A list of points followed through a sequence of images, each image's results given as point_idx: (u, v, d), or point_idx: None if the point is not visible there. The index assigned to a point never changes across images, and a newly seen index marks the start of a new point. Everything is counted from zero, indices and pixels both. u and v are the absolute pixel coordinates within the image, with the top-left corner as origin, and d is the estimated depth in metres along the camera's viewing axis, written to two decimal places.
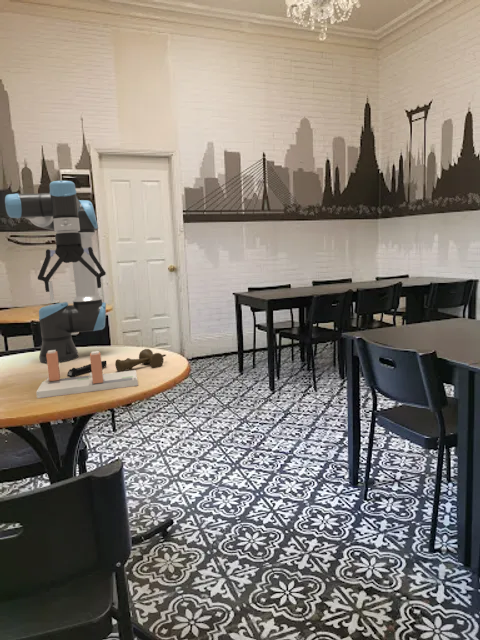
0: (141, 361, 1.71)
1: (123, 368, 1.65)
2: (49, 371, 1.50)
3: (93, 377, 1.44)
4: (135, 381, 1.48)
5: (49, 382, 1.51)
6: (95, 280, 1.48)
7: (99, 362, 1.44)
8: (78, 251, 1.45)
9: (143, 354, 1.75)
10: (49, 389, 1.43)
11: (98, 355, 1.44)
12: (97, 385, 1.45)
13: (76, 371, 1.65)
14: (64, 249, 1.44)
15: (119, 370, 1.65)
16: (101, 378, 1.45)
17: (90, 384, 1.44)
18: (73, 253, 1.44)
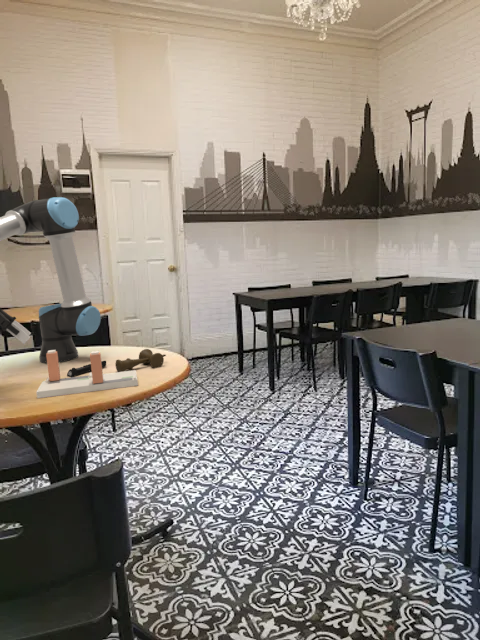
0: (141, 361, 1.71)
1: (123, 368, 1.65)
2: (49, 371, 1.50)
3: (93, 377, 1.44)
4: (135, 381, 1.48)
5: (49, 382, 1.51)
6: None
7: (99, 362, 1.44)
8: None
9: (143, 354, 1.75)
10: (49, 389, 1.43)
11: (98, 355, 1.44)
12: (97, 385, 1.45)
13: (76, 371, 1.65)
14: None
15: (119, 370, 1.65)
16: (101, 378, 1.45)
17: (90, 384, 1.44)
18: None
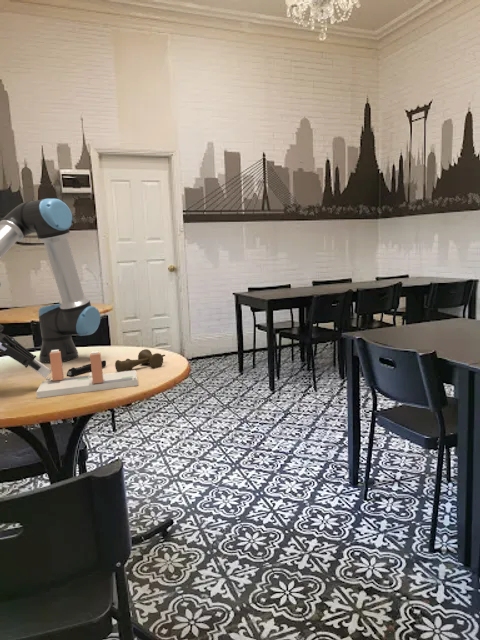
0: (141, 361, 1.70)
1: (123, 369, 1.65)
2: (52, 371, 1.51)
3: (93, 377, 1.44)
4: (135, 381, 1.48)
5: (49, 382, 1.51)
6: None
7: (99, 362, 1.44)
8: None
9: (142, 354, 1.74)
10: (49, 389, 1.43)
11: (98, 355, 1.44)
12: (97, 385, 1.45)
13: (75, 371, 1.66)
14: None
15: (119, 371, 1.64)
16: (101, 378, 1.45)
17: (90, 384, 1.44)
18: None
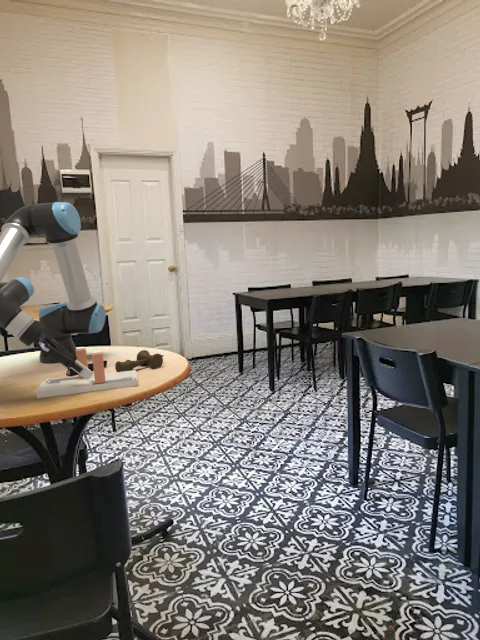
0: (141, 362, 1.69)
1: (124, 370, 1.63)
2: None
3: (95, 377, 1.45)
4: (135, 381, 1.48)
5: (49, 382, 1.51)
6: None
7: (101, 362, 1.44)
8: None
9: (141, 355, 1.73)
10: (49, 389, 1.43)
11: (100, 355, 1.44)
12: (97, 385, 1.45)
13: None
14: None
15: None
16: (103, 378, 1.45)
17: (90, 384, 1.44)
18: None
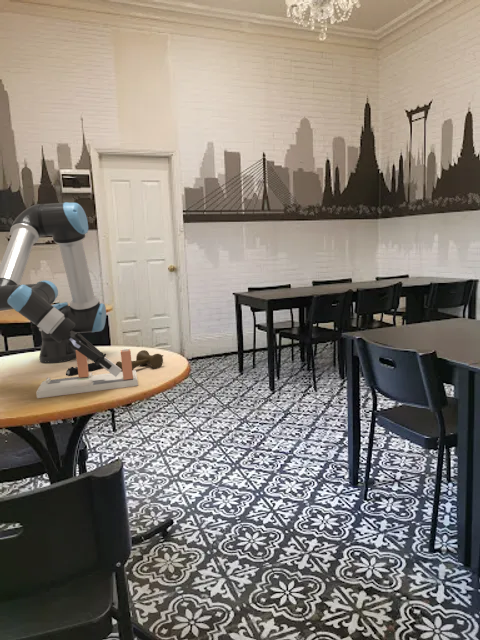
0: (141, 362, 1.69)
1: None
2: (78, 368, 1.53)
3: (123, 373, 1.47)
4: (135, 381, 1.48)
5: (49, 382, 1.51)
6: None
7: (129, 359, 1.47)
8: None
9: (141, 355, 1.73)
10: (49, 389, 1.43)
11: (128, 352, 1.46)
12: (97, 385, 1.45)
13: (74, 370, 1.67)
14: None
15: None
16: (131, 374, 1.47)
17: (90, 384, 1.44)
18: None
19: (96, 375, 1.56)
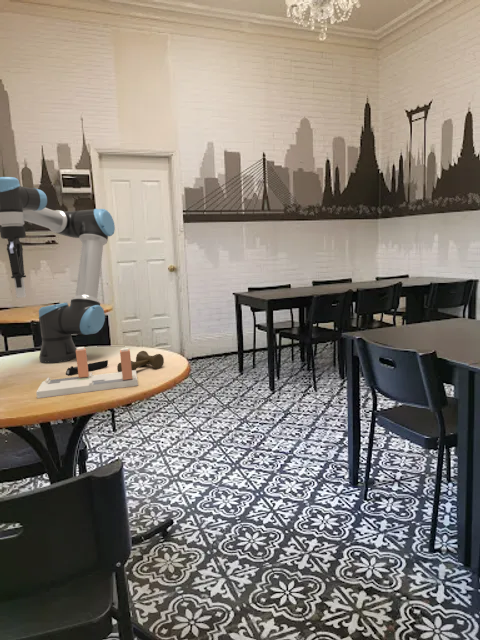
0: (142, 363, 1.67)
1: None
2: (78, 368, 1.53)
3: (123, 373, 1.47)
4: (135, 381, 1.48)
5: (49, 382, 1.51)
6: None
7: (129, 359, 1.46)
8: (9, 243, 1.52)
9: (141, 356, 1.72)
10: (49, 389, 1.43)
11: (128, 352, 1.46)
12: (97, 385, 1.45)
13: (73, 370, 1.67)
14: None
15: None
16: (131, 374, 1.47)
17: (90, 384, 1.44)
18: None
19: (96, 375, 1.56)
